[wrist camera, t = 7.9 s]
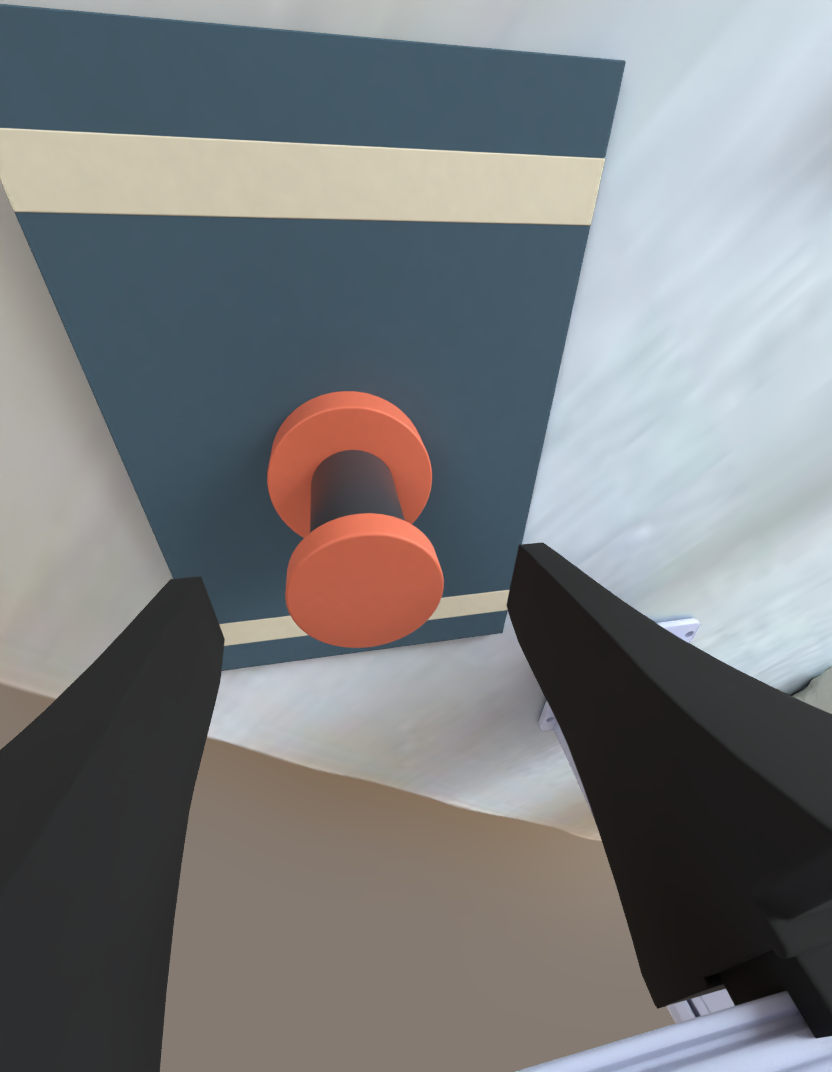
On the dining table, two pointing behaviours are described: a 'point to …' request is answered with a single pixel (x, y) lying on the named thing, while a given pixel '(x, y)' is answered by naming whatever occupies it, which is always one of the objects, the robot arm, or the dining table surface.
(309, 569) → the orange thread spool
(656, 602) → the dining table surface
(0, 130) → the tea towel
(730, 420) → the dining table surface
